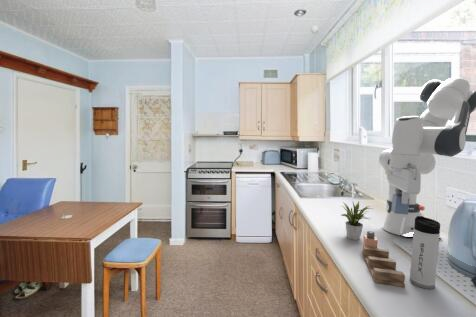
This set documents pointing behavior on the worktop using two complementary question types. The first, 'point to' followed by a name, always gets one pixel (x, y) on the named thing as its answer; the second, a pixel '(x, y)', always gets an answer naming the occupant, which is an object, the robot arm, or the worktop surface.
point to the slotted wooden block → (383, 267)
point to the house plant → (354, 221)
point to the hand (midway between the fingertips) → (400, 201)
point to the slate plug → (399, 204)
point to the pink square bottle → (370, 240)
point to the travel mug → (424, 252)
